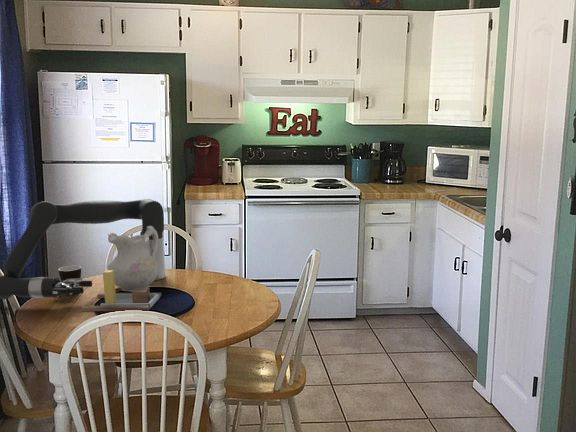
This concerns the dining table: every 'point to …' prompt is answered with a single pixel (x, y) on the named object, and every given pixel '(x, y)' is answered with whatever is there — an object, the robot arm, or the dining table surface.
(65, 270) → the coffee mug
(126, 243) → the ceramic pitcher
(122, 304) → the shallow grey tray
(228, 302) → the dining table surface
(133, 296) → the block
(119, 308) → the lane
